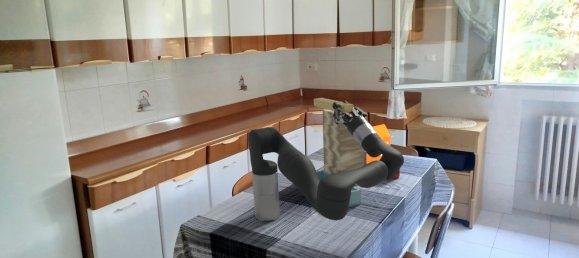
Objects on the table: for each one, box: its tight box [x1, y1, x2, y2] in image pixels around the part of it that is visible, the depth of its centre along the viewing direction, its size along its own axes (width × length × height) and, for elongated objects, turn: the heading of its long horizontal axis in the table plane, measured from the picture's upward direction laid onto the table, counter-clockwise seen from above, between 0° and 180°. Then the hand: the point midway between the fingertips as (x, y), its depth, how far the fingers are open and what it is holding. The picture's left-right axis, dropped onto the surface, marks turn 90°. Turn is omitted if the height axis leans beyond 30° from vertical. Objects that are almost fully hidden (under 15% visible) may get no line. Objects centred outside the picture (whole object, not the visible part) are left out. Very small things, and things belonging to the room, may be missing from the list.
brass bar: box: [313, 97, 354, 113], centre depth 162 cm, size 22×4×3 cm, turn 27°
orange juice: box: [366, 123, 391, 164], centre depth 204 cm, size 8×9×20 cm
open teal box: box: [316, 169, 362, 208], centre depth 169 cm, size 28×11×6 cm, turn 26°
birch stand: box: [322, 108, 365, 174], centre depth 182 cm, size 14×12×32 cm
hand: (338, 103), depth 158 cm, fingers closed on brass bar, 4 cm apart
